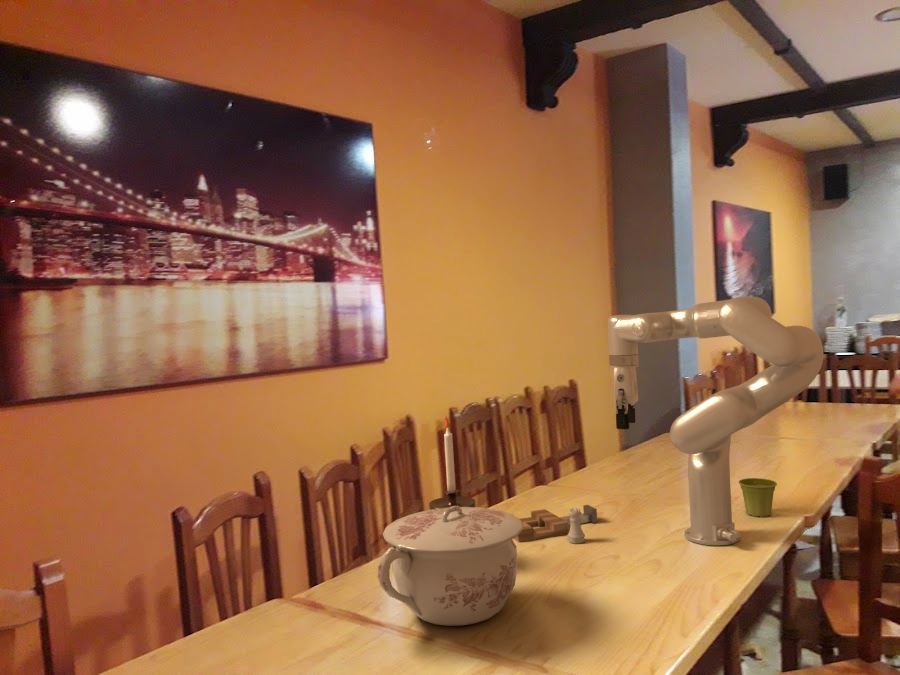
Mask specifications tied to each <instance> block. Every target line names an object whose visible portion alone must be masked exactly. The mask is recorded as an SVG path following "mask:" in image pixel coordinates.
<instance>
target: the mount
mask: <svg viewBox="0 0 900 675" xmlns="http://www.w3.org/2000/svg"><path fill="white" fill-rule="evenodd" d="M511 514H512V513H511ZM512 515H514V514H512ZM560 517H561V516H558V515H556V514H554V513H553V512H551V511H548V509H545V508H543V509H537V510H531V511H530V517H529V516H528V517H522V518H519V517H517V518H518V519H519V520H521V521H522V523H523V530H522V531H521V532H520V533H519V535H518V536H517V537H516V538H514V539H513V540H515V541H516V542H518V543H523V542H528V541H534V540H541V539H546V538H552V537H559V536H565V535H568V533H569V531H570V526H569V525H568V522H567V521H565V520H563V519H561V518H560ZM533 526H535V527H533ZM542 526H543V527H542Z"/></svg>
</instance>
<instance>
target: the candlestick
mask: <svg viewBox="0 0 900 675" xmlns="http://www.w3.org/2000/svg"><path fill="white" fill-rule="evenodd" d="M444 420H445V427H446V430H445V433H444V434H443V436H444V454H445V467H446V468H445V469H446V470H445V471H446V485H447V489H446V490H443V491H442V492H443V493H444V494H447V496H444V497H439V498H435V499H433V500H431V501H430V502H429V503H428V507H429V508H428V510H432V509H439V508H447V507H452V506H459V507H476V505H477V504H476V503H477V502H476V499H474V498H472V497H468V496H461V495H460V496H459V495H457V493H459V492H461V490H460V489H457V488H456V476H455V461H454V460H455V458H454V457H455V456H454V443H453V433H451V431H450V420H449V419H448V418H447V414H445V416H444Z"/></svg>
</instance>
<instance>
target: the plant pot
mask: <svg viewBox="0 0 900 675" xmlns="http://www.w3.org/2000/svg"><path fill="white" fill-rule="evenodd" d="M738 484H739V485H740V489H741V491H742V496H743V497H742V498H743V503H744V508H745V514H747V516H750V515H751V516H753V517H755V516H760V517H759V518H764V517H763V516H766V517H771V516H772V510H773V501H774V494H775V493H774V492H775V490H776V487H777V485H778V483H777V482H776V481H774V480H772V479H767V478H758V477H757V478H756V477H748V478H742V479H740V480H738ZM768 515H769V516H768ZM761 516H762V517H761Z"/></svg>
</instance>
